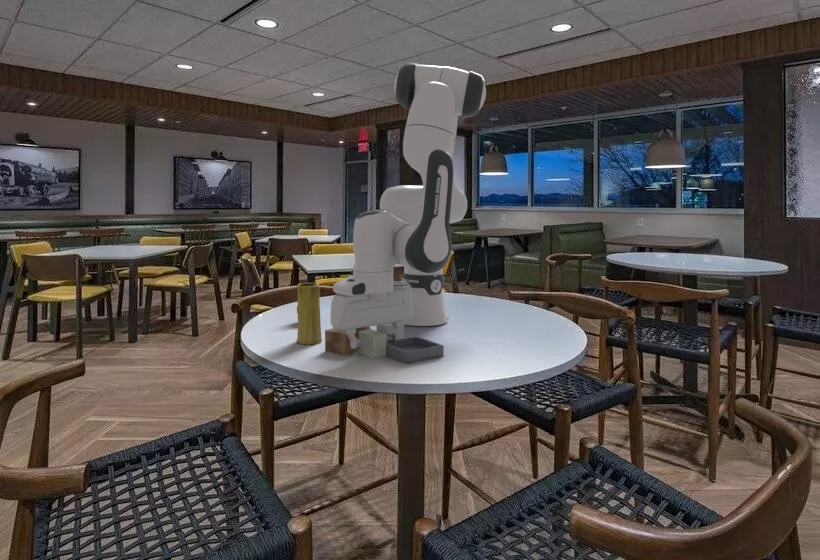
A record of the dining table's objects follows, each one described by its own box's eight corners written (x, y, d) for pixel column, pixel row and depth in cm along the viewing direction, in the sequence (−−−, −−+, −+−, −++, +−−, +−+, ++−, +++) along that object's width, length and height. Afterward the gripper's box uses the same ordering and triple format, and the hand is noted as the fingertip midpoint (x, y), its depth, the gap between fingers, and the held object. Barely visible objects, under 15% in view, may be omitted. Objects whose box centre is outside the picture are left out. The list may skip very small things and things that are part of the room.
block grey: (386, 346, 124) (386, 326, 124) (376, 343, 127) (376, 323, 126) (403, 341, 129) (404, 322, 128) (394, 339, 131) (394, 320, 130)
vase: (310, 346, 124) (308, 287, 122) (291, 342, 127) (289, 284, 125) (326, 340, 129) (326, 283, 127) (308, 337, 132) (307, 281, 130)
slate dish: (380, 352, 118) (380, 342, 118) (416, 346, 124) (416, 336, 124) (406, 364, 110) (406, 352, 110) (443, 356, 116) (443, 345, 116)
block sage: (359, 352, 119) (358, 331, 118) (371, 350, 121) (371, 329, 120) (373, 358, 114) (373, 336, 114) (386, 356, 116) (386, 334, 116)
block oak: (345, 348, 123) (345, 327, 122) (342, 344, 126) (341, 324, 125) (370, 345, 125) (369, 325, 124) (365, 342, 128) (365, 322, 127)
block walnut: (325, 351, 120) (324, 330, 119) (335, 348, 123) (335, 327, 122) (345, 355, 116) (344, 334, 116) (355, 352, 119) (354, 331, 119)
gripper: (402, 278, 124) (402, 335, 125) (326, 285, 111) (327, 348, 113) (419, 281, 119) (419, 340, 120) (341, 288, 106) (342, 354, 108)
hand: (374, 344), depth 117 cm, fingers open, 8 cm apart
